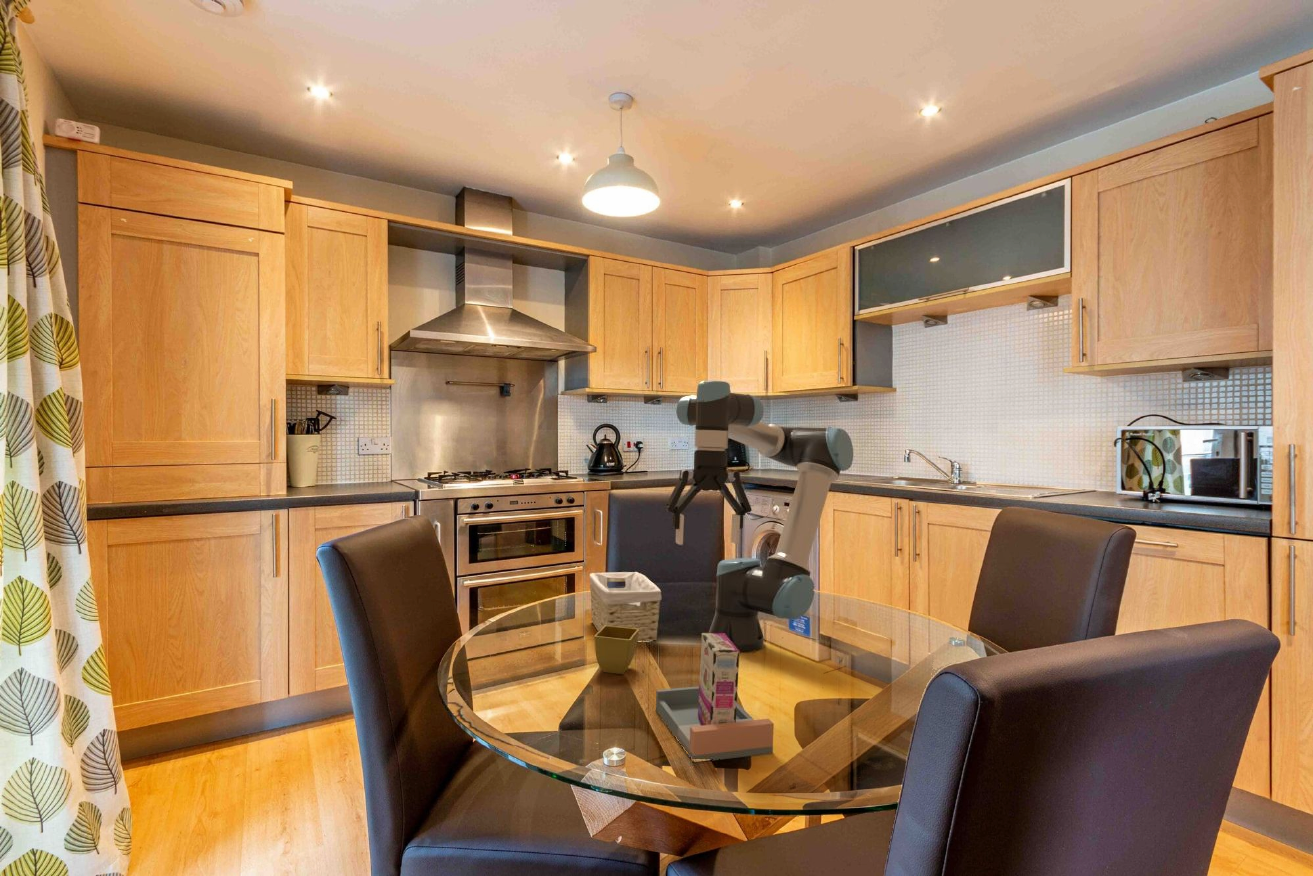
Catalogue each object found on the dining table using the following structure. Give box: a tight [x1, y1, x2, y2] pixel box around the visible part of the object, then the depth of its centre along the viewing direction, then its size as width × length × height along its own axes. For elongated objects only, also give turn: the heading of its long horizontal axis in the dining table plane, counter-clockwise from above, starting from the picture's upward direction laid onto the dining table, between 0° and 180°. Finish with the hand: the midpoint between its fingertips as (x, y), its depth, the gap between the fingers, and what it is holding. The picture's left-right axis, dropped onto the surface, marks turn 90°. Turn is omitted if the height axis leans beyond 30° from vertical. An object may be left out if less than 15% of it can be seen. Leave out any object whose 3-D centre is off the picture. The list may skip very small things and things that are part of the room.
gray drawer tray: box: [655, 685, 775, 761], centre depth 118 cm, size 15×21×5 cm
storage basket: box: [588, 571, 662, 642], centre depth 178 cm, size 24×16×15 cm
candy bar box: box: [698, 632, 741, 726], centre depth 116 cm, size 11×5×16 cm, turn 8°
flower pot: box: [593, 626, 639, 675], centre depth 148 cm, size 9×9×9 cm
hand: (707, 543), depth 141 cm, fingers open, 13 cm apart
